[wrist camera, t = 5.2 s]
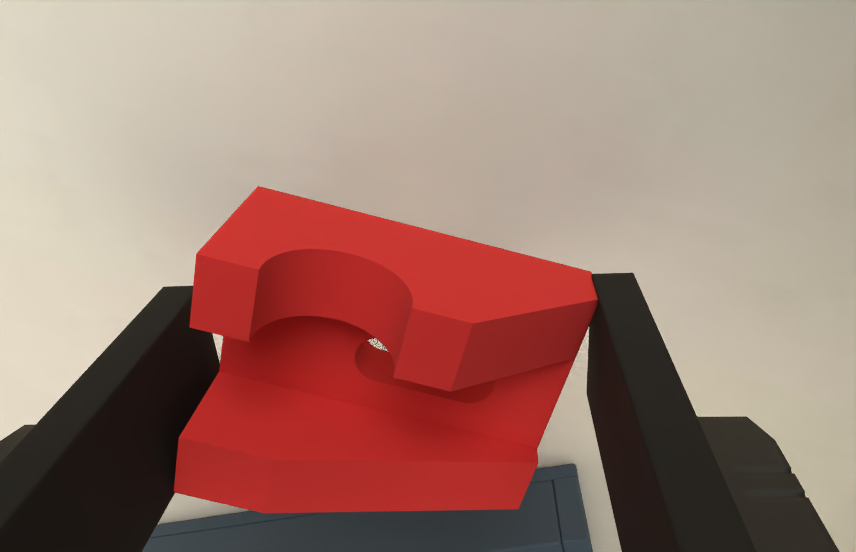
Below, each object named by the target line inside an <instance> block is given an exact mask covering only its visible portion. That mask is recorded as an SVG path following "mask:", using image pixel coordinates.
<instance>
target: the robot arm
mask: <svg viewBox="0 0 856 552" xmlns="http://www.w3.org/2000/svg"><path fill="white" fill-rule="evenodd" d="M591 278H592V281H593V284H594V288H595V291H596V294H597V297H598V305H597V308H596V310H595V313H594V315H593V317H592V320H591V322H590V324H589V348H588V372H587V397H588V401H589V406H590V410H591V415H592V419H593V424H594V428H595V433H596V437H597V442H598V446H599V451H600V455H601V460H602V464H603V469H604V473H605V478H606V482H607V487H608V491H609V496H610V500H611V505H612V509H613V514H614V518H615V523H616V527H617V532H618V536H619V541H620V545H621V550H622V552H839V550H838V548H837V547H836V545H835V543H834V541H833V540H832V538H831V536H830V534H829V533H828V531H827V529H826V528H825V526H824V524H823V522H822V521H821V519H820V517H819V515H818V514H817V512H816V510H815V509H814V507H813V505H812V503H811V502H810V500H809V498H806V497H805V491H804V489H803V488H802V486H801V484H800V483H799V481H798V479H797V477H796V476H795V474H792V472H791V467H790V465H789V464H788V462H787V460H786V458H785V457H784V455H783V453H782V451H781V450H780V448H779V446H778V445H777V443H776V441H775V440H774V439H773V438H772V437H771V436H769V435H768V434H767V433H766V432H765V431H763V430H762V429H761V428H760V427H758V426H757V425H756V424H755V423H754V422H752V421H751V420H750V419H749V418H748V417H697V416H696V414H695V411H694V409H693V407H692V405H691V402H690V400H689V398H688V396H687V393H686V391H685V389H684V387H683V384H682V382H681V380H680V377H679V375H678V373H677V371H676V368H675V366H674V364H673V362H672V359H671V357H670V355H669V353H668V350H667V348H666V346H665V344H664V341H663V339H662V337H661V335H660V332H659V330H658V328H657V326H656V323H655V321H654V319H653V317H652V314H651V312H650V310H649V307H648V305H647V303H646V301H645V298H644V296H643V294H642V292H641V289H640V287H639V285H638V283H637V280H636V278H635V276H634V274H633V273H611V274H592V276H591ZM192 295H193V286H174V287H163V288H162V289H161V290H160V291H159V292H158V293H157V295H156V296H155V297H154V298H153V299H152V300H151V301H150V302H149V303H148V304H147V305H146V306H145V307H144V309H143V310H142V311H141V312H140V313H139V314H138V315H137V316H136V317H135V318H134V319H133V320H132V322H131V323H130V324H129V325H128V326H127V327H126V328H125V329H124V330H123V331H122V332H121V333H120V334H119V336H118V337H117V338H116V339H115V340H114V341H113V342H112V343H111V344H110V345H109V346H108V347H107V349H106V350H105V351H104V352H103V353H102V354H101V355H100V356H99V357H98V358H97V359H96V360H95V361H94V363H93V364H92V365H91V366H90V367H89V368H88V369H87V370H86V371H85V372H84V373H83V374H82V376H81V377H80V378H79V379H78V380H77V381H76V382H75V383H74V384H73V385H72V386H71V387H70V389H69V390H68V391H67V392H66V393H65V394H64V395H63V396H62V397H61V398H60V399H59V400H58V401H57V403H56V404H55V405H54V406H53V407H52V408H51V409H50V410H49V411H48V412H47V413H46V414H45V416H44V417H43V418H42V419H41V420H40V421H39V422H38V423H37V424H36V425H24V426H22V427H21V428H19V429H18V430H16V431H15V432H13V433H12V434H10V435H9V436H7V437H6V438H4V439H3V440H1V441H0V552H142V550H143V549H144V547H145V545H146V543H147V542H148V540H149V538H150V536H151V534H152V533H153V531H154V529H155V527H156V525H157V524H158V522H159V520H160V518H161V517H162V515H163V513H164V511H165V509H166V508H167V506H168V504H169V502H170V501H171V499H172V497H173V495H174V493H175V492H174V483H175V473H176V463H177V452H178V442H179V437H180V435H181V433H182V432H183V430H184V428H185V427H186V425H187V423H188V422H189V420H190V419H191V417H192V415H193V414H194V412H195V410H196V409H197V407H198V405H199V404H200V402H201V400H202V399H203V397H204V396H205V394H206V392H207V391H208V389H209V387H210V386H211V384H212V382H213V381H214V379H215V378H216V376H217V374H218V373H219V368H220V363H219V359H218V355H217V351H216V347H215V343H214V339H213V335H212V333H210V332H206V331H202V330H198V329H194V328H190V316H191V306H192Z"/></svg>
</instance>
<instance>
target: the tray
mask: <svg viewBox="0 0 856 552" xmlns="http://www.w3.org/2000/svg"><path fill="white" fill-rule="evenodd" d="M142 552H593V550H592V545H591V540H590V535H589V530H588V525H587V520H586V515H585V510H584V505H583V500H582V495H581V490H580V485H579V480H578V475H577V470H576V466H575V464H569V465H562V466H555V467H549V468H542V469H535V472H534V474H533V476H532V479H531V481H530V483H529V486H528V488H527V490H526V493H525V495H524V497H523V500H522V502H521V504H520V507H519V509H507V510H442V511H376V512H310V513H261V512H256V511H248V512H242V513H235V514H228V515H221V516H214V517H208V518H201V519H194V520H187V521H180V522H173V523H167V524H160V525H156V527H155V529H154V531H153V533H152V534H151V536H150V538H149V540H148V542H147V543H146V545H145V547H144V549H143V550H142Z"/></svg>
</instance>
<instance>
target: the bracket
mask: <svg viewBox="0 0 856 552" xmlns="http://www.w3.org/2000/svg"><path fill="white" fill-rule="evenodd" d="M591 276H592V273H591V272H590V271H586V270H582V269H578V268H574V267H571V266H567V265H563V264H559V263H555V262H551V261H547V260H543V259H539V258H536V257H532V256H528V255H524V254H520V253H516V252H512V251H508V250H504V249H501V248H497V247H493V246H489V245H485V244H481V243H477V242H473V241H470V240H466V239H462V238H458V237H454V236H450V235H446V234H442V233H438V232H435V231H431V230H427V229H423V228H419V227H415V226H411V225H407V224H403V223H400V222H396V221H392V220H388V219H384V218H380V217H376V216H372V215H368V214H365V213H361V212H357V211H353V210H349V209H345V208H341V207H337V206H333V205H330V204H326V203H322V202H318V201H314V200H310V199H306V198H302V197H298V196H295V195H291V194H287V193H283V192H279V191H275V190H271V189H267V188H263V187H260V186H258V187H257V188H256V189H255V190H254V191H253V192H252V194H251V195H250V196H249V197H248V198H247V199H246V200H245V201H244V202H243V203H242V205H241V206H240V207H239V208H238V209H237V210H236V211H235V212H234V213H233V214H232V215H231V217H230V218H229V219H228V220H227V221H226V222H225V223H224V224H223V225H222V226H221V228H220V229H219V230H218V231H217V232H216V233H215V234H214V235H213V236H212V237H211V239H210V240H209V241H208V242H207V243H206V244H205V245H204V246H203V247H202V248H201V249H200V251H199V252H198V253H197V254H196V264H195V274H194V285H193V295H192V306H191V316H190V328H194V329H198V330H202V331H206V332H210V333H215V334H219V335H223V344H222V352H221V360H220V368H219V373H218V374H217V376H216V378H215V379H214V381H213V382H212V384H211V386H210V387H209V389H208V391H207V392H206V394H205V396H204V397H203V399H202V400H201V402H200V404H199V405H198V407H197V409H196V410H195V412H194V414H193V415H192V417H191V419H190V420H189V422H188V423H187V425H186V427H185V428H184V430H183V432H182V433H181V435H180V437H179V442H178V452H177V463H176V473H175V483H174V492H175V493H180V494H184V495H188V496H192V497H197V498H201V499H205V500H210V501H214V502H218V503H222V504H227V505H231V506H235V507H239V508H244V509H248V510H252V511H256V512H261V513H310V512H376V511H442V510H507V509H519V507H520V504H521V502H522V500H523V497H524V495H525V493H526V490H527V488H528V486H529V483H530V481H531V479H532V476H533V474H534V472H535V469H536V467H537V465H538V454H537V448H538V445H539V443H540V441H541V438H542V436H543V434H544V431H545V429H546V426H547V424H548V422H549V419H550V417H551V415H552V412H553V410H554V407H555V405H556V403H557V400H558V398H559V396H560V393H561V391H562V388H563V386H564V384H565V381H566V379H567V377H568V374H569V372H570V370H571V367H572V365H573V362H574V360H575V358H576V355H577V353H578V351H579V348H580V346H581V343H582V341H583V339H584V336H585V334H586V332H587V329H588V327H589V324H590V322H591V320H592V317H593V315H594V313H595V310H596V308H597V305H598V297H597V294H596V291H595V288H594V284H593V281H592V278H591ZM372 338H377V339H378V340H379V341H380V342H381V343H382V344H383V345H384V346H385V347H386V349H387V350H388V351H389V352H387V351H383V350H380V349H377V348H375V347H374V346H372V345H371V344H370V343H369V342H368V341H367V340H369V339H372Z"/></svg>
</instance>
